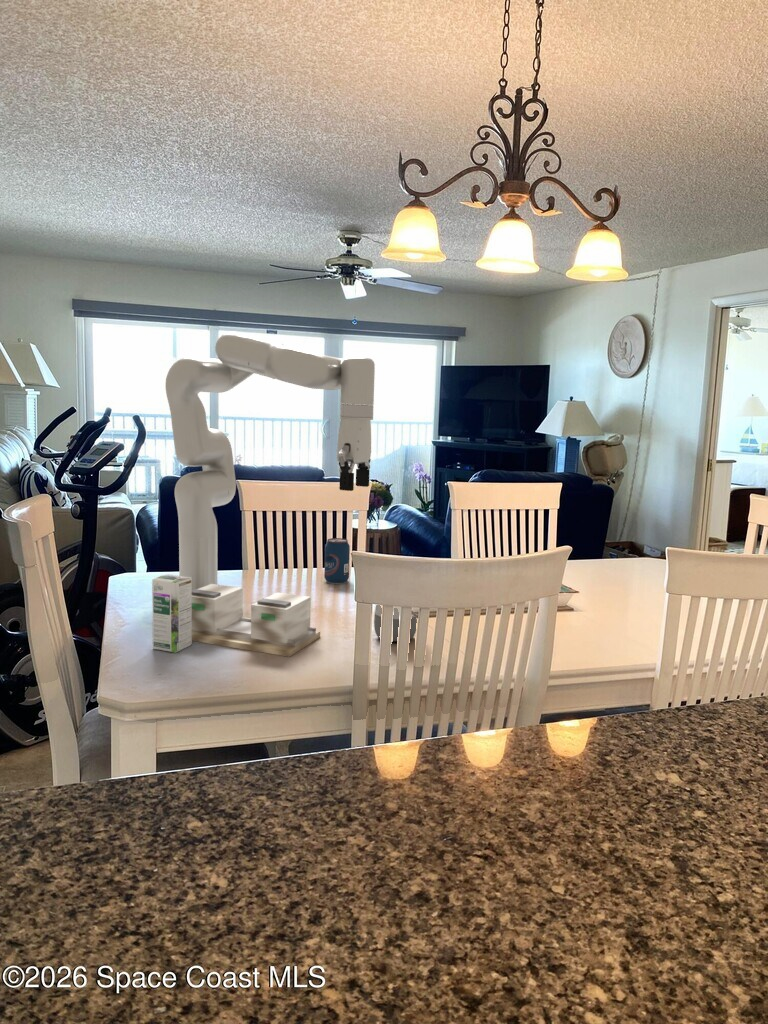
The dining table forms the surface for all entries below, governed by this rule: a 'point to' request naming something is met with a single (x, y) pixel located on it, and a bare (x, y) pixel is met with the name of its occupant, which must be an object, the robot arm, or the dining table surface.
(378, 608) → the smart speaker
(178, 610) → the syrup box
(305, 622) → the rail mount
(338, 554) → the soda can
